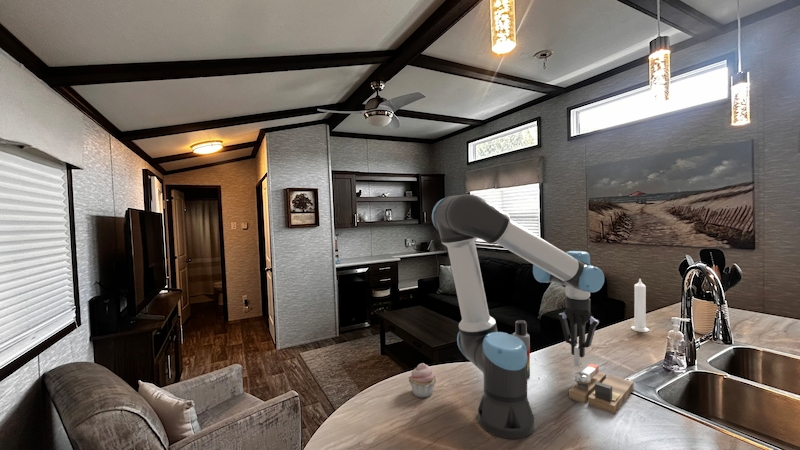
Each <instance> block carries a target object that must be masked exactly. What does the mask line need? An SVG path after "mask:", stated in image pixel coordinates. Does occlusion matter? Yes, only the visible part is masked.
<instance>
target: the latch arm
mask: <svg viewBox="0 0 800 450" xmlns="http://www.w3.org/2000/svg"><path fill="white" fill-rule="evenodd" d="M598 372H600V369H599V365H595V364H593V363H589V364H588V365H587V366H586V367H585V368H584V369H583V370H581V371H579V372H575V373H574V382H575V383H576V384H577V383H579V384H582V385H589V384H591V379H592V378H593V377H594V376H595V375H596V374H597V373H598Z"/></svg>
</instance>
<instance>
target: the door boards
mask: <svg viewBox="0 0 800 450" xmlns="http://www.w3.org/2000/svg"><path fill="white" fill-rule="evenodd" d="M634 383H635V382H634V381H632V380H628V379H625V378H621V377H619V376H615V375H611V374H608V376H607V373H604V372H601V371H599V372H598V373H597V374H596V375H595V376H594V377H593V378H592V379H591V384H589V385H582V384H579V383H577V382H576V383H575V384H574V385H573V386H572V387H570V389H569V390H568V398H569V399H570V398H571V400H572V401H576V402H579V403H581V404H586V403H587V406H590V407H592V408H595V409H598V410H601V411H603V412H607V413H609V414H612V415H616V413H617V412H618V411H619V409H620V408H621V407H622V405H623V404H624V403H625V401H626V400H627V399H628V398H629V396H630V395H631V393H632V392H633V390H634V387H635V386H634Z"/></svg>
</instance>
